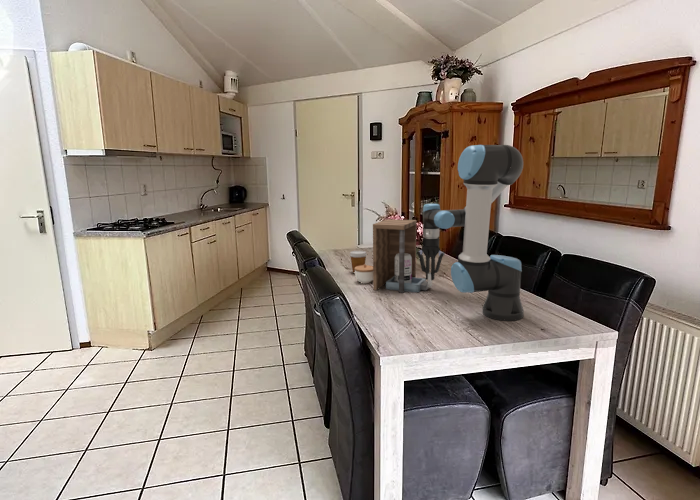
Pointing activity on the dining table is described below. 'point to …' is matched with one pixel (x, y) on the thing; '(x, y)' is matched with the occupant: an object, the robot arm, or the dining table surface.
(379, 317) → the dining table surface
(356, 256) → the disposable coffee cup
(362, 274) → the lidded jar
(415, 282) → the tray
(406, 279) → the supplement can
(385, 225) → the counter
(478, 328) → the dining table surface
